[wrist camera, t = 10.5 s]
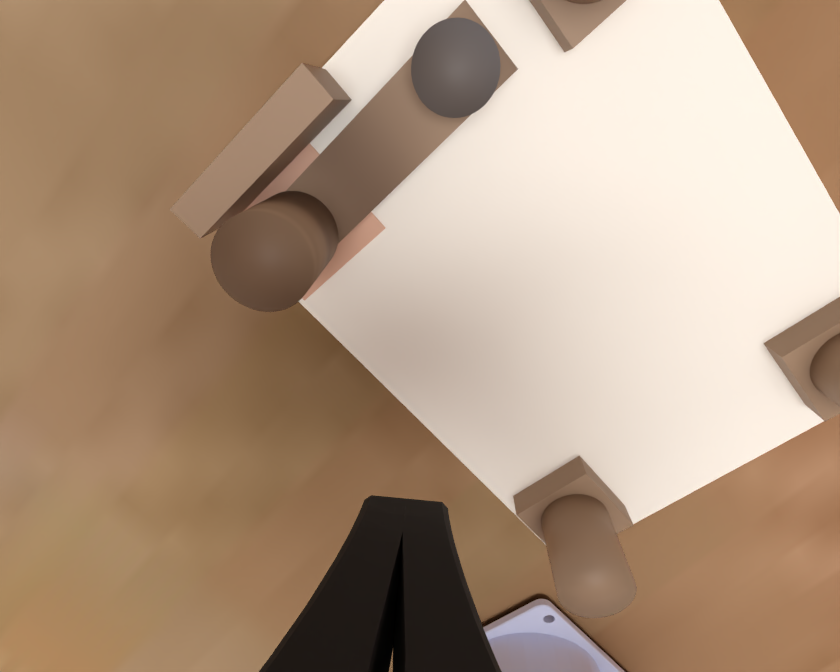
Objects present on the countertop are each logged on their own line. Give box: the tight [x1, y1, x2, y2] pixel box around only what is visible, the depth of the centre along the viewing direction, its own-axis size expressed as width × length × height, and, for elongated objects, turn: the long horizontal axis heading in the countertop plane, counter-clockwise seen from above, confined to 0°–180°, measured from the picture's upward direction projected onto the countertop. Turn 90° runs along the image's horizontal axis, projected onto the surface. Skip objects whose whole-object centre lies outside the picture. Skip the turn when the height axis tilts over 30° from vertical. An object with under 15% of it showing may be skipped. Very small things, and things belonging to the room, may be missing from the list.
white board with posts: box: [170, 0, 840, 618], centre depth 15 cm, size 19×14×6 cm
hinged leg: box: [211, 0, 518, 312], centre depth 13 cm, size 8×2×4 cm, turn 133°
